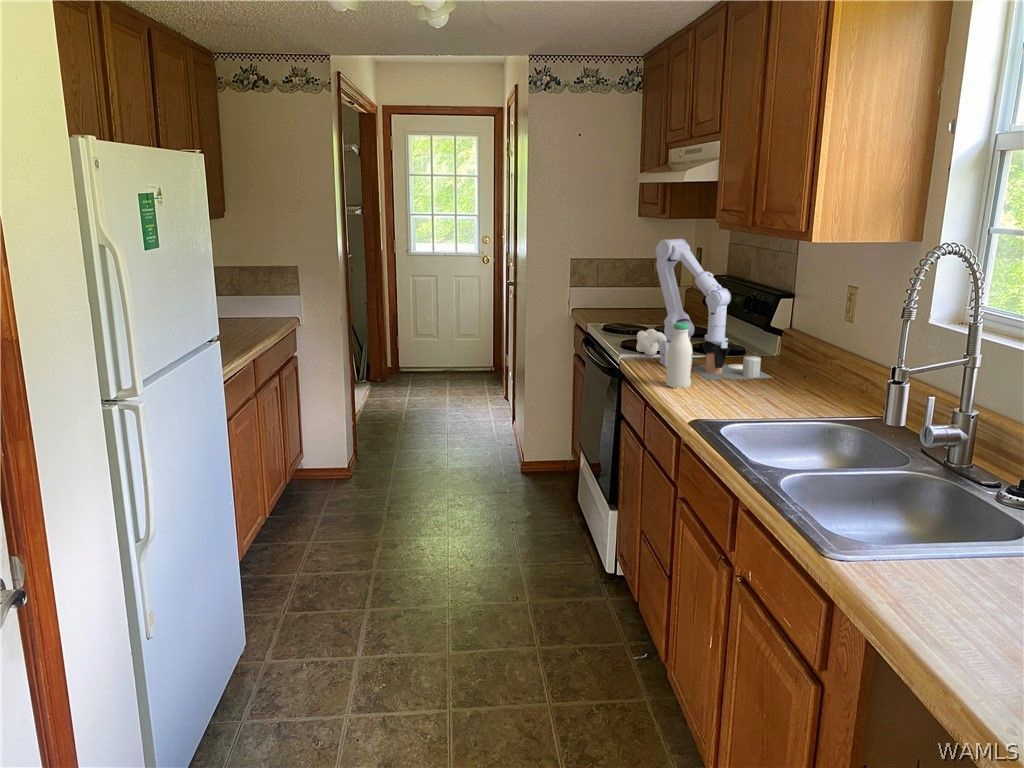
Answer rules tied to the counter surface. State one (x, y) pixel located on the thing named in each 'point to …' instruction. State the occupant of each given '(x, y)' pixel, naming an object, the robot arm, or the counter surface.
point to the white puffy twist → (650, 341)
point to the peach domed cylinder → (711, 364)
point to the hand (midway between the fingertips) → (714, 365)
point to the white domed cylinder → (751, 366)
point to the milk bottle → (679, 358)
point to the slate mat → (727, 372)
